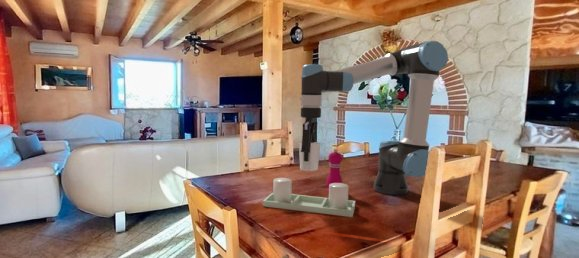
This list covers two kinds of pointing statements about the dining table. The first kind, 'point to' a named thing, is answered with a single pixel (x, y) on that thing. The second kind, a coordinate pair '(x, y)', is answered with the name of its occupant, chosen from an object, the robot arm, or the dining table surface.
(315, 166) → the white cup
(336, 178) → the pepper mill
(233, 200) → the dining table surface
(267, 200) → the caddy
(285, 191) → the white capsule
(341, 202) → the white round cylinder
